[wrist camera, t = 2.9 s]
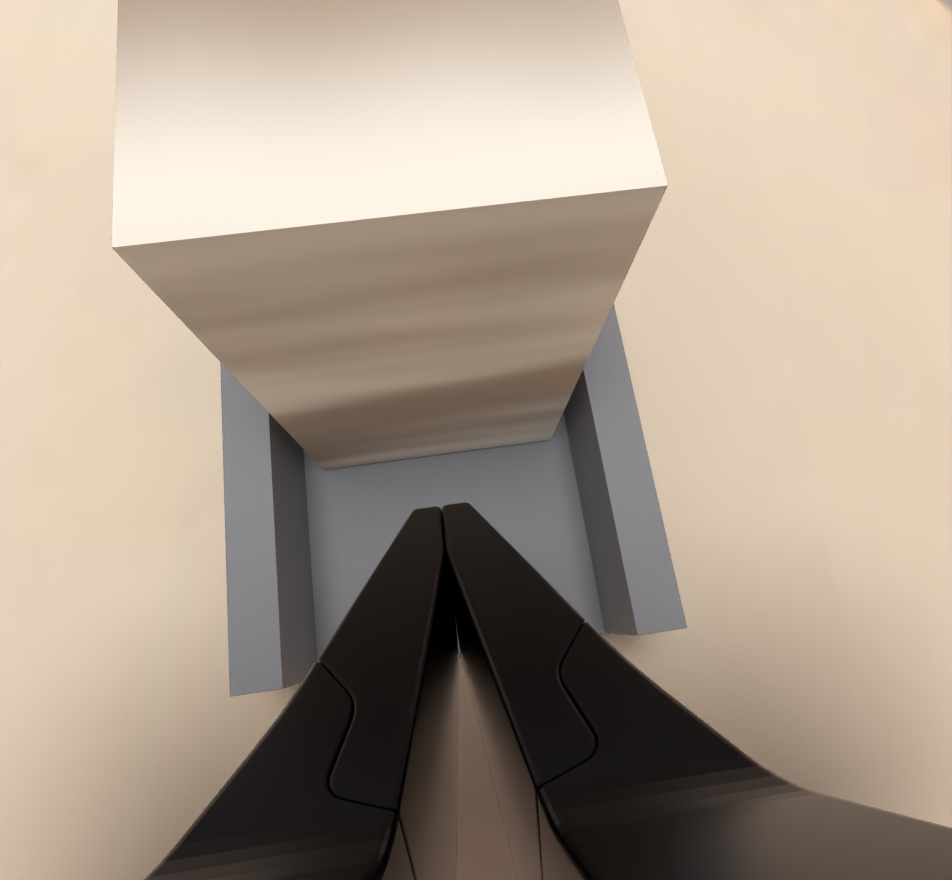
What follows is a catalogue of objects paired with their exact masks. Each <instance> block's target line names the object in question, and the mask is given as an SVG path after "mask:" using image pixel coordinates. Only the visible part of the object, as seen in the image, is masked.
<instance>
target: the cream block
mask: <svg viewBox="0 0 952 880" xmlns="http://www.w3.org/2000/svg"><path fill="white" fill-rule="evenodd" d="M667 186H668V184H667V181H666V177H665V173H664V170H663V166H662V162H661V158H660V155H659V151H658V147H657V143H656V140H655V136H654V132H653V129H652V125H651V121H650V117H649V114H648V110H647V106H646V103H645V99H644V95H643V91H642V88H641V84H640V80H639V76H638V73H637V69H636V65H635V62H634V58H633V54H632V50H631V47H630V43H629V39H628V36H627V32H626V28H625V24H624V21H623V17H622V13H621V10H620V6H619V2H618V0H118V25H117V64H116V104H115V143H114V182H113V222H112V248H113V249H114V250H115V251H116V252H117V253H118V255H119V256H120V257H121V258H122V259H123V260H124V261H125V262H126V263H127V264H128V265H129V266H130V267H131V268H132V269H133V270H134V271H135V272H136V273H137V274H138V276H139V277H140V278H141V279H142V280H143V281H144V282H145V283H146V284H147V285H148V286H149V287H150V288H151V289H152V290H153V291H154V292H155V293H156V294H157V296H158V297H159V298H160V299H161V300H162V301H163V302H164V303H165V304H166V305H167V306H168V307H169V308H170V309H171V310H172V311H173V312H174V313H175V314H176V315H177V317H178V318H179V319H180V320H181V321H182V322H183V323H184V324H185V325H186V326H187V327H188V328H189V329H190V330H191V331H192V332H193V333H194V334H195V335H196V336H197V338H198V339H199V340H200V341H201V342H202V343H203V344H204V345H205V346H206V347H207V348H208V349H209V350H210V351H211V352H212V353H213V354H214V355H215V356H216V358H217V359H218V360H219V361H220V362H221V363H222V364H223V365H224V366H225V367H226V368H227V369H228V370H229V371H230V372H231V373H232V374H233V375H234V376H235V377H236V379H237V380H238V381H239V382H240V383H241V384H242V385H243V386H244V387H245V388H246V389H247V390H248V391H249V392H250V393H251V394H252V395H253V396H254V397H255V399H256V400H257V401H258V402H259V403H260V404H261V405H262V406H263V407H264V408H265V409H266V410H267V411H268V412H269V413H270V414H271V415H272V416H273V417H274V418H275V420H276V421H277V422H278V423H279V424H280V425H281V426H282V427H283V428H284V429H285V430H286V431H287V432H288V433H289V434H290V435H291V436H292V437H293V438H294V439H295V441H296V442H297V443H298V444H299V445H300V446H301V447H302V448H303V449H304V450H305V451H306V452H307V453H308V454H309V455H310V456H311V457H312V458H313V459H314V461H315V462H316V463H317V464H318V465H319V466H320V467H321V468H322V469H323V470H327V469H334V468H342V467H349V466H357V465H364V464H372V463H379V462H387V461H395V460H402V459H410V458H417V457H425V456H432V455H440V454H447V453H455V452H462V451H470V450H477V449H485V448H493V447H500V446H508V445H515V444H523V443H530V442H538V441H545V440H551V438H552V436H553V433H554V431H555V429H556V427H557V425H558V422H559V420H560V418H561V416H562V414H563V412H564V409H565V407H566V405H567V403H568V401H569V399H570V396H571V394H572V392H573V390H574V388H575V386H576V383H577V381H578V379H579V377H580V375H581V373H582V370H583V368H584V366H585V364H586V362H587V360H588V357H589V355H590V353H591V351H592V349H593V346H594V344H595V342H596V340H597V338H598V336H599V333H600V331H601V329H602V327H603V325H604V323H605V320H606V318H607V316H608V314H609V312H610V310H611V307H612V305H613V303H614V301H615V299H616V297H617V294H618V292H619V290H620V288H621V286H622V284H623V281H624V279H625V277H626V275H627V273H628V270H629V268H630V266H631V264H632V262H633V260H634V257H635V255H636V253H637V251H638V249H639V247H640V244H641V242H642V240H643V238H644V236H645V234H646V231H647V229H648V227H649V225H650V223H651V221H652V218H653V216H654V214H655V212H656V210H657V208H658V205H659V203H660V201H661V199H662V197H663V195H664V192H665V190H666V188H667Z"/></svg>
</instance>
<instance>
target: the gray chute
mask: <svg viewBox="0 0 952 880" xmlns="http://www.w3.org/2000/svg"><path fill="white" fill-rule="evenodd" d="M220 363H221V362H220ZM221 398H222V433H223V468H224V503H225V537H226V572H227V607H228V642H229V677H230V697H231V696H238V695H244V694H251V693H258V692H264V691H271V690H278V689H283V688H286V687H289V686H291V685H294V684H297V683H300V682H302V681H303V680H304V679H305V677H306V675H307V674H308V672H309V671H310V669H311V668H312V666H313V664H314V663H315V662H318V657H319V656H320V654H321V653H322V651H323V649H324V648H325V646H326V645H327V643H328V642H329V640H330V639H331V637H332V635H333V634H334V632H335V631H336V629H337V628H338V626H339V625H340V623H341V621H342V620H343V618H344V617H345V615H346V614H347V612H348V611H349V609H350V608H351V606H352V604H353V603H354V601H355V600H356V598H357V597H358V595H359V594H360V592H361V590H362V589H363V587H364V586H365V584H366V583H367V581H368V580H369V578H370V576H371V575H372V573H373V572H374V570H375V569H376V567H377V566H378V564H379V562H380V561H381V559H382V558H383V556H384V555H385V553H386V552H387V550H388V548H389V547H390V545H391V544H392V542H393V541H394V539H395V538H396V536H397V534H398V533H399V531H400V530H401V528H402V527H403V525H404V524H405V522H406V521H407V519H408V517H409V516H410V514H411V513H412V511H413V510H415V509H419V508H427V507H434V506H438V507H440V508H441V511H442V508H443V506H444V505H449V504H456V503H463V502H467V503H470V504H471V505H472V506H473V507H474V508H475V509H476V510H477V511H478V512H479V513H480V514H481V515H482V516H483V517H484V518H485V519H486V520H487V521H488V522H489V523H490V524H491V525H492V526H493V527H494V528H495V529H496V530H497V531H498V532H499V533H500V534H501V535H502V536H503V537H504V538H505V539H506V540H507V541H508V542H509V543H510V544H511V545H512V546H513V547H514V548H515V549H516V550H517V551H518V552H519V553H520V554H521V555H522V556H523V557H524V558H525V559H526V560H527V561H528V562H529V563H530V564H531V565H532V566H533V567H534V568H535V569H536V570H537V571H538V572H539V573H540V574H541V575H542V576H543V577H544V578H545V579H546V580H547V581H548V582H549V583H550V584H551V585H552V586H553V587H554V588H555V589H556V590H557V591H558V592H559V593H560V594H561V595H562V596H563V597H564V598H565V599H566V600H567V601H568V602H569V603H570V604H571V605H572V606H573V607H574V608H575V609H576V610H577V611H578V612H579V613H580V614H581V615H582V616H583V617H584V618H585V620H586V622H588V623H590V624H591V625H592V626H593V627H594V628H595V629H596V630H597V631H598V632H599V633H617V634H629V635H643V634H650V633H656V632H663V631H670V630H676V629H683V628H687V626H686V622H685V617H684V613H683V609H682V604H681V600H680V595H679V591H678V586H677V582H676V578H675V573H674V569H673V564H672V560H671V555H670V551H669V547H668V542H667V538H666V533H665V529H664V524H663V520H662V516H661V511H660V507H659V502H658V498H657V493H656V489H655V485H654V480H653V476H652V471H651V467H650V462H649V458H648V454H647V449H646V445H645V440H644V436H643V431H642V427H641V423H640V418H639V414H638V409H637V405H636V400H635V396H634V392H633V387H632V383H631V378H630V374H629V369H628V365H627V361H626V356H625V352H624V347H623V343H622V338H621V334H620V330H619V325H618V321H617V316H616V312H615V307H614V303H613V305H612V307H611V310H610V312H609V314H608V316H607V318H606V320H605V323H604V325H603V327H602V329H601V331H600V333H599V336H598V338H597V340H596V342H595V344H594V346H593V349H592V351H591V353H590V355H589V357H588V360H587V362H586V364H585V366H584V368H583V370H582V373H581V375H580V377H579V379H578V381H577V383H576V386H575V388H574V390H573V392H572V394H571V396H570V399H569V401H568V403H567V405H566V407H565V409H564V412H563V414H562V416H561V418H560V420H559V422H558V425H557V427H556V429H555V431H554V433H553V436H552V438H551V440H545V441H538V442H530V443H523V444H515V445H508V446H500V447H493V448H485V449H477V450H470V451H462V452H455V453H447V454H440V455H432V456H425V457H417V458H410V459H402V460H395V461H387V462H379V463H372V464H364V465H357V466H349V467H342V468H334V469H327V470H323V469H322V468H321V467H320V466H319V465H318V464H317V463H316V462H315V461H314V459H313V458H312V457H311V456H310V455H309V454H308V453H307V452H306V451H305V450H304V449H303V448H302V447H301V446H300V445H299V444H298V443H297V442H296V441H295V439H294V438H293V437H292V436H291V435H290V434H289V433H288V432H287V431H286V430H285V429H284V428H283V427H282V426H281V425H280V424H279V423H278V422H277V421H276V420H275V418H274V417H273V416H272V415H271V414H270V413H269V412H268V411H267V410H266V409H265V408H264V407H263V406H262V405H261V404H260V403H259V402H258V401H257V400H256V399H255V397H254V396H253V395H252V394H251V393H250V392H249V391H248V390H247V389H246V388H245V387H244V386H243V385H242V384H241V383H240V382H239V381H238V380H237V379H236V377H235V376H234V375H233V374H232V373H231V372H230V371H229V370H228V369H227V368H226V367H225V366H224V365H223V364H222V363H221ZM456 628H457V627H456ZM457 637H458V634H457ZM458 649H459V654H461V653H460V647H459V640H458Z"/></svg>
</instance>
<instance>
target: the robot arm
mask: <svg viewBox="0 0 952 880" xmlns="http://www.w3.org/2000/svg"><path fill="white" fill-rule="evenodd" d="M456 627H457V628H456ZM457 634H458V637H457ZM458 640H459V647H460V653H461V657H462V662H463V666H464V670H465V674H466V678H467V682H468V686H469V690H470V694H471V697H472V701H473V705H474V709H475V713H476V717H477V721H478V725H479V729H480V733H481V737H482V741H483V745H484V748H485V752H486V756H487V760H488V764H489V768H490V772H491V776H492V780H493V784H494V788H495V792H496V795H497V799H498V803H499V807H500V811H501V815H502V819H503V823H504V827H505V831H506V835H507V839H508V843H509V846H510V850H511V854H512V858H513V862H514V866H515V870H516V874H517V878H518V880H952V828H949V827H945V826H942V825H938V824H934V823H930V822H926V821H923V820H919V819H915V818H911V817H907V816H903V815H900V814H896V813H892V812H888V811H884V810H881V809H877V808H873V807H869V806H865V805H861V804H858V803H854V802H850V801H846V800H842V799H839V798H835V797H831V796H827V795H823V794H820V793H816V792H813V791H810V790H807V789H804V788H802V787H800V786H797V785H795V784H793V783H791V782H789V781H787V780H785V779H783V778H781V777H779V776H778V775H776V774H774V773H773V772H771V771H770V770H768V769H766V768H765V767H763V766H762V765H760V764H759V763H757V762H756V761H755V760H753V759H752V758H751V757H749V756H748V755H746V754H745V753H744V752H743V751H741V750H740V749H739V748H737V747H736V746H735V745H734V744H732V743H731V742H730V741H729V740H727V739H726V738H725V737H723V736H722V735H721V734H720V733H718V732H717V731H716V730H714V729H713V728H712V727H711V726H709V725H708V724H707V723H705V722H704V721H703V720H702V719H700V718H699V717H698V716H697V715H695V714H694V713H693V712H691V711H690V710H689V709H688V708H686V707H685V706H684V705H682V704H681V703H680V702H679V701H677V700H676V699H675V698H673V697H672V696H671V695H670V694H668V693H667V692H666V691H665V690H663V689H662V688H661V687H660V686H658V685H657V684H656V683H655V682H653V681H652V680H651V679H650V678H649V677H647V676H646V675H645V674H644V673H643V672H641V671H640V670H639V669H638V668H637V667H635V666H634V665H633V664H632V663H630V662H629V661H628V660H627V659H626V658H625V657H624V656H623V655H622V654H621V653H620V652H619V651H618V650H617V649H616V648H614V647H613V646H612V645H611V644H610V643H609V642H608V641H607V640H606V639H605V638H604V637H603V636H602V635H601V634H600V633H599V632H598V631H597V630H596V629H595V628H594V627H593V626H592V625H591V624H590V623H588V622H586V620H585V618H584V617H583V616H582V615H581V614H580V613H579V612H578V611H577V610H576V609H575V608H574V607H573V606H572V605H571V604H570V603H569V602H568V601H567V600H566V599H565V598H564V597H563V596H562V595H561V594H560V593H559V592H558V591H557V590H556V589H555V588H554V587H553V586H552V585H551V584H550V583H549V582H548V581H547V580H546V579H545V578H544V577H543V576H542V575H541V574H540V573H539V572H538V571H537V570H536V569H535V568H534V567H533V566H532V565H531V564H530V563H529V562H528V561H527V560H526V559H525V558H524V557H523V556H522V555H521V554H520V553H519V552H518V551H517V550H516V549H515V548H514V547H513V546H512V545H511V544H510V543H509V542H508V541H507V540H506V539H505V538H504V537H503V536H502V535H501V534H500V533H499V532H498V531H497V530H496V529H495V528H494V527H493V526H492V525H491V524H490V523H489V522H488V521H487V520H486V519H485V518H484V517H483V516H482V515H481V514H480V513H479V512H478V511H477V510H476V509H475V508H474V507H473V506H472V505H471V504H470V503H467V502H463V503H456V504H449V505H444V506H443V508H442V511H441V508H440V507H438V506H434V507H427V508H419V509H415V510H413V511H412V513H411V514H410V516H409V517H408V519H407V521H406V522H405V524H404V525H403V527H402V528H401V530H400V531H399V533H398V534H397V536H396V538H395V539H394V541H393V542H392V544H391V545H390V547H389V548H388V550H387V552H386V553H385V555H384V556H383V558H382V559H381V561H380V562H379V564H378V566H377V567H376V569H375V570H374V572H373V573H372V575H371V576H370V578H369V580H368V581H367V583H366V584H365V586H364V587H363V589H362V590H361V592H360V594H359V595H358V597H357V598H356V600H355V601H354V603H353V604H352V606H351V608H350V609H349V611H348V612H347V614H346V615H345V617H344V618H343V620H342V621H341V623H340V625H339V626H338V628H337V629H336V631H335V632H334V634H333V635H332V637H331V639H330V640H329V642H328V643H327V645H326V646H325V648H324V649H323V651H322V653H321V654H320V656H319V657H318V662H315V663H314V664H313V666H312V668H311V669H310V671H309V672H308V674H307V675H306V677H305V679H304V680H303V682H302V683H301V685H300V686H299V688H298V689H297V690H296V692H295V693H294V695H293V696H292V698H291V699H290V701H289V702H288V704H287V705H286V706H285V708H284V709H283V711H282V712H281V714H280V715H279V716H278V718H277V719H276V720H275V722H274V723H273V724H272V726H271V727H270V728H269V729H268V731H267V732H266V733H265V735H264V736H263V737H262V739H261V740H260V741H259V742H258V744H257V745H256V746H255V748H254V749H253V750H252V752H251V753H250V754H249V755H248V756H247V758H246V759H245V760H244V761H243V763H242V764H241V765H240V766H239V768H238V769H237V770H236V771H235V773H234V774H233V775H232V776H231V777H230V779H229V780H228V781H227V782H226V784H225V785H224V786H223V787H222V789H221V790H220V791H219V792H218V793H217V795H216V796H215V797H214V798H213V800H212V801H211V802H210V803H209V805H208V806H207V807H206V808H205V810H204V811H203V812H202V813H201V814H200V816H199V817H198V818H197V819H196V821H195V822H194V823H193V824H192V826H191V827H190V828H189V829H188V830H187V832H186V833H185V834H184V835H183V837H182V838H181V839H180V840H179V842H178V843H177V844H176V845H175V846H174V848H173V849H172V850H171V851H170V852H169V853H168V855H167V856H166V857H165V858H164V859H163V860H162V861H161V863H160V864H159V865H158V866H157V867H156V868H155V869H154V870H153V871H152V872H151V873H150V874H149V875H148V876H147V877H146V878H145V879H144V880H456V844H457V772H458V700H459V649H458Z"/></svg>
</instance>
